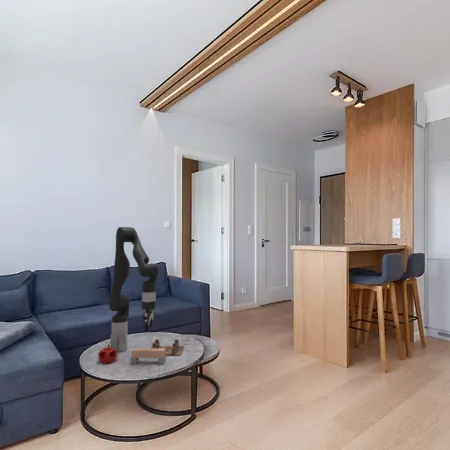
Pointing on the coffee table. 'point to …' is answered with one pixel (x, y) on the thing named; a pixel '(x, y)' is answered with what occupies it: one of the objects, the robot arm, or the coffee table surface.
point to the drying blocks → (160, 360)
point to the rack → (169, 348)
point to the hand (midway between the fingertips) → (148, 329)
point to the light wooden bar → (147, 353)
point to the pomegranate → (107, 355)
